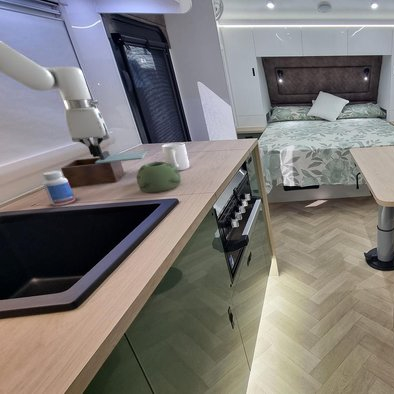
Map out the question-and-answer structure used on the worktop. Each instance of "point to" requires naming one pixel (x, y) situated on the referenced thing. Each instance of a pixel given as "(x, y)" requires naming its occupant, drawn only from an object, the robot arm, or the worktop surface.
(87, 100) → the robot arm
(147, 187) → the green planter pot
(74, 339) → the worktop surface
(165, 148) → the mug
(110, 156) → the sliding box lid
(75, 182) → the box
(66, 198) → the pill bottle
